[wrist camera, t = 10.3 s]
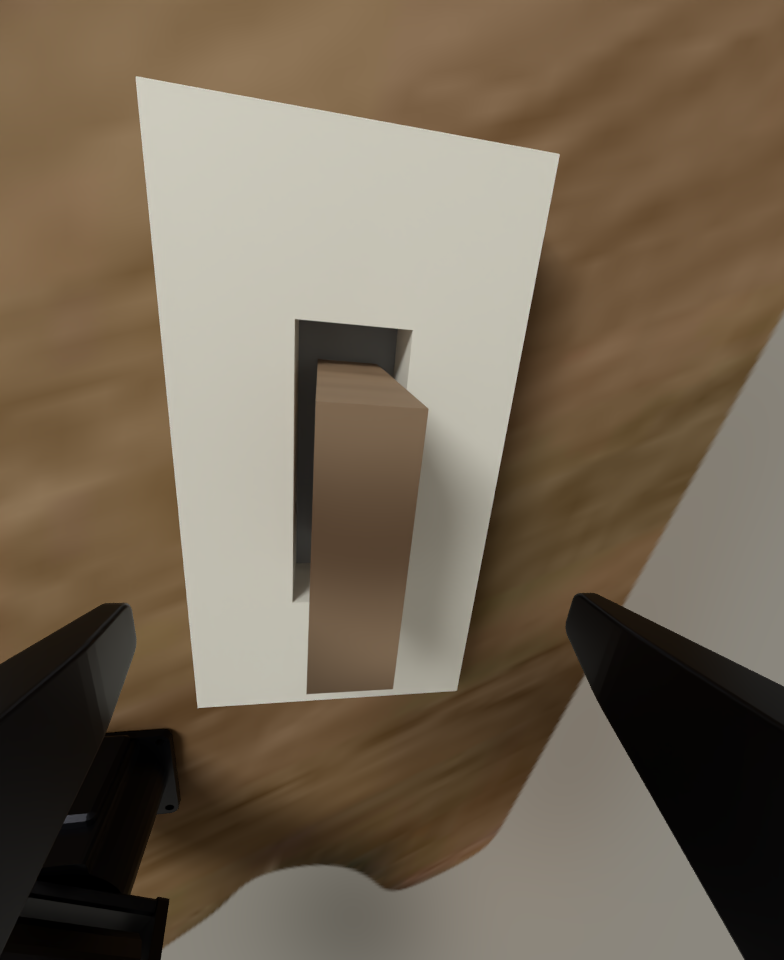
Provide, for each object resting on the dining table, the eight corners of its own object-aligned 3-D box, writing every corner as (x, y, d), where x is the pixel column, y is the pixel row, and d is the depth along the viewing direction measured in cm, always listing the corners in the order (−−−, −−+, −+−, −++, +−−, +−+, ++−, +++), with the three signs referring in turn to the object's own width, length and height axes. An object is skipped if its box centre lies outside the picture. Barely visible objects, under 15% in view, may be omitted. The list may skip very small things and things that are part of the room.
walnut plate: (363, 535, 20) (393, 688, 12) (312, 534, 20) (306, 694, 11) (376, 363, 17) (428, 408, 9) (318, 359, 17) (315, 401, 9)
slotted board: (436, 634, 24) (456, 690, 21) (217, 642, 22) (197, 708, 19) (506, 189, 17) (559, 154, 13) (182, 137, 14) (135, 76, 11)
